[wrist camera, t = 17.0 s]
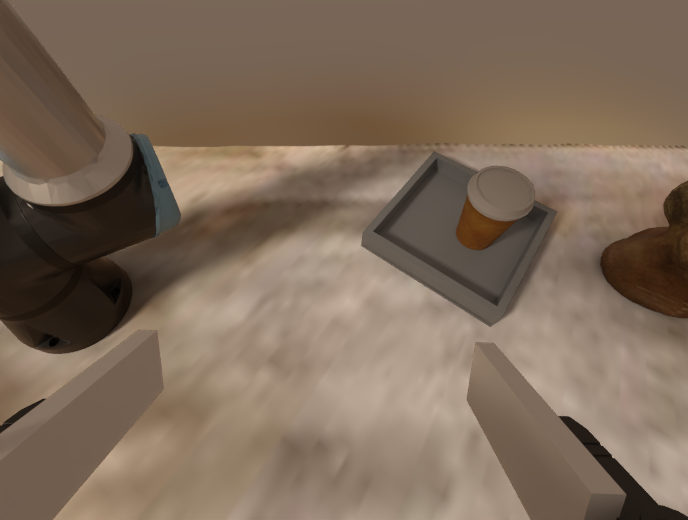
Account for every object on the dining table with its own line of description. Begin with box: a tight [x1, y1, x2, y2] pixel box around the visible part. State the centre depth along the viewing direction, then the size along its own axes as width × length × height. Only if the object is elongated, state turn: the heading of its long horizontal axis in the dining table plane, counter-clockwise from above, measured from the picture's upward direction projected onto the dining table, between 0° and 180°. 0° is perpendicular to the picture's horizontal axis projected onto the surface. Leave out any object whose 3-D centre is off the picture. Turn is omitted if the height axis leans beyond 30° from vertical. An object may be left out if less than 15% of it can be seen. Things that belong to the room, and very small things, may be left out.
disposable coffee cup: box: [456, 166, 535, 250], centre depth 52 cm, size 10×10×12 cm
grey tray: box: [361, 151, 557, 327], centre depth 57 cm, size 24×24×4 cm
